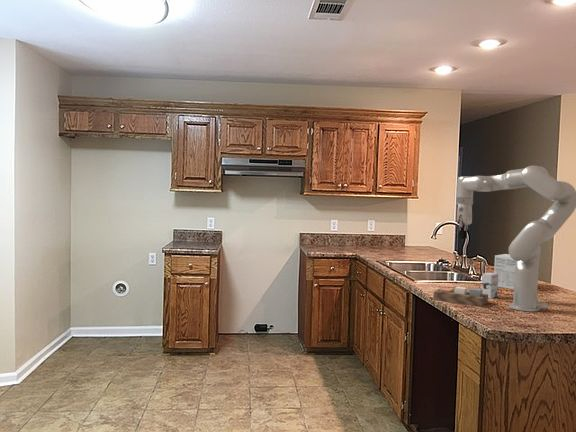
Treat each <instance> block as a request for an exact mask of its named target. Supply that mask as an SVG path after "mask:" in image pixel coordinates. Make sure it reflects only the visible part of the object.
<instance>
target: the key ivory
mask: <svg viewBox="0 0 576 432" xmlns="http://www.w3.org/2000/svg"><path fill="white" fill-rule="evenodd" d="M454 290H455V291H454V293H457V294H464V295H465V294H467V291H468V287H465V286H464V287H463V286H455V287H454Z"/></svg>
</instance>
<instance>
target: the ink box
mask: <svg viewBox="0 0 576 432" xmlns="http://www.w3.org/2000/svg"><path fill="white" fill-rule="evenodd" d="M481 289H483V294H488V299H493V298H497V297H498V289H499V287H498V273H494V272H486V273H482V279H481Z"/></svg>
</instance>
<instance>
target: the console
mask: <svg viewBox="0 0 576 432" xmlns="http://www.w3.org/2000/svg"><path fill="white" fill-rule="evenodd" d="M442 288H443V287H441V288H438V289H436V290H434V291H433V298H432V299H433V301H440V302H445V303H451V304H458V305H465V306H470V305H471V306H472V307H477V306H478V307H477V308H482V307H484V306H485V305H487V304H488V303H489V298H488V294H482V296H481V297H478V296H471V295H470V291H468V290H467V294H465V295H464V294H457V293H454V291H455V288H454V289H453V288H451V289H452V292H443V291H440V289H442ZM483 305H484V306H483Z"/></svg>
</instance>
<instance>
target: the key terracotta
mask: <svg viewBox="0 0 576 432" xmlns="http://www.w3.org/2000/svg"><path fill="white" fill-rule="evenodd" d="M441 288H442V289H441ZM441 288H439V289H440V291H443V292H452V289H453V288H447V287H446V288H445V287H441Z"/></svg>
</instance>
